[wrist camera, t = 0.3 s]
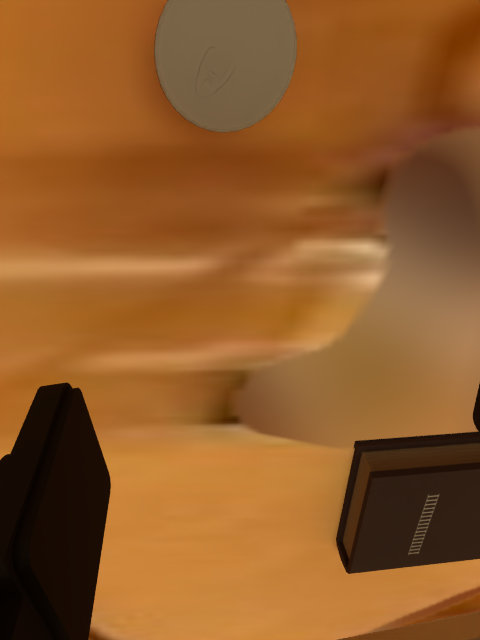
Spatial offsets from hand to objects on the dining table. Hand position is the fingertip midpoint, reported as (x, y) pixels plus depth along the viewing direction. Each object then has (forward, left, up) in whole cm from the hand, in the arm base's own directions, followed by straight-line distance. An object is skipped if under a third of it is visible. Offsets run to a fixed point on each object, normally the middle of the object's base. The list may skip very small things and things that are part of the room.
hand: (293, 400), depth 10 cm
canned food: (-6, -4, -31) cm, 32 cm away
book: (+17, +51, -31) cm, 62 cm away
